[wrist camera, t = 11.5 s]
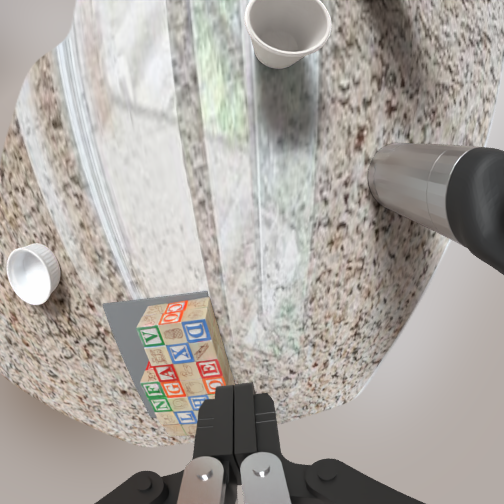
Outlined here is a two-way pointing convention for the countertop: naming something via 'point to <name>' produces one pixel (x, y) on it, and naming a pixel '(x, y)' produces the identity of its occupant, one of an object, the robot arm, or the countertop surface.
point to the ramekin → (33, 273)
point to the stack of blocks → (182, 361)
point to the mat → (127, 338)
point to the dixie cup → (286, 29)
